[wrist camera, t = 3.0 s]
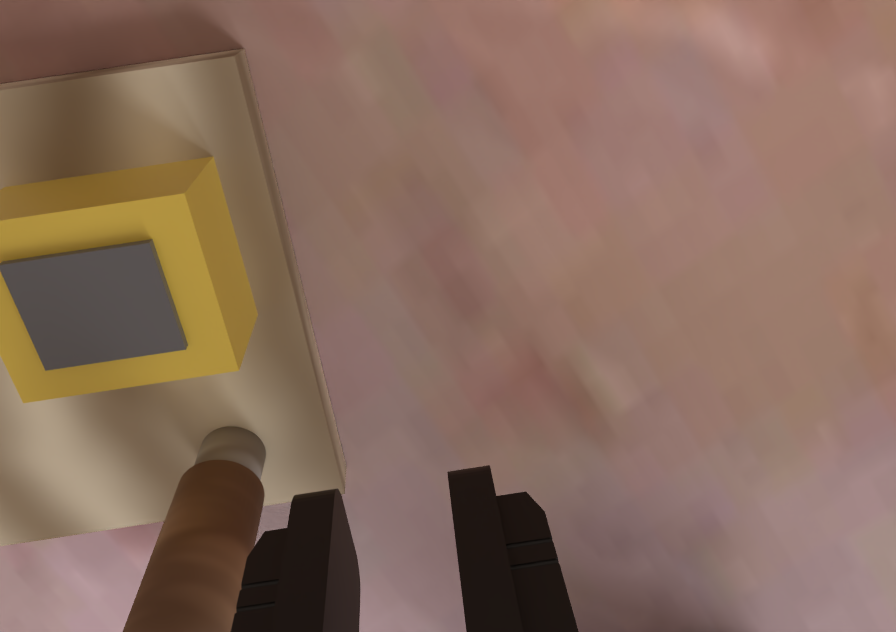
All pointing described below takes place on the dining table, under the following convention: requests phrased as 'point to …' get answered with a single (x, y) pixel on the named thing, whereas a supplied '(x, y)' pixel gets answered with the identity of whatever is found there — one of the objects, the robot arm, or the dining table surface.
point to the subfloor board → (181, 401)
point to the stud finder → (121, 281)
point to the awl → (204, 539)
